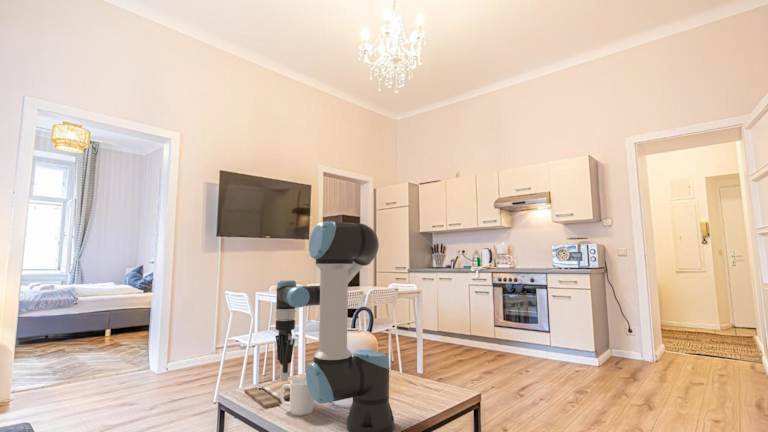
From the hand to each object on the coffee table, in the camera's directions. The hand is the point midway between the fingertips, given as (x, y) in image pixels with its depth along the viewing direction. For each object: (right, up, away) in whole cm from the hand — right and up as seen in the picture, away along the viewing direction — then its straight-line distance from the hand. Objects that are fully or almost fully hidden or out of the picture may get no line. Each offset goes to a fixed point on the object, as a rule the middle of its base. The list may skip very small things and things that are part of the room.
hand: (283, 380), depth 155 cm
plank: (0, -4, 0) cm, 4 cm away
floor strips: (-7, -4, -6) cm, 10 cm away
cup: (+9, -4, -17) cm, 20 cm away
